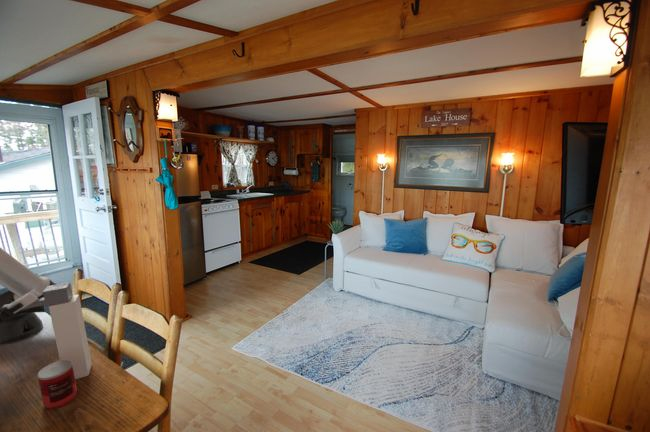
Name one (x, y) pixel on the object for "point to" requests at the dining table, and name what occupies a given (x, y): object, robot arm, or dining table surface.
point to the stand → (71, 335)
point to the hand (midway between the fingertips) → (35, 294)
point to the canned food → (57, 384)
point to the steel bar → (51, 296)
